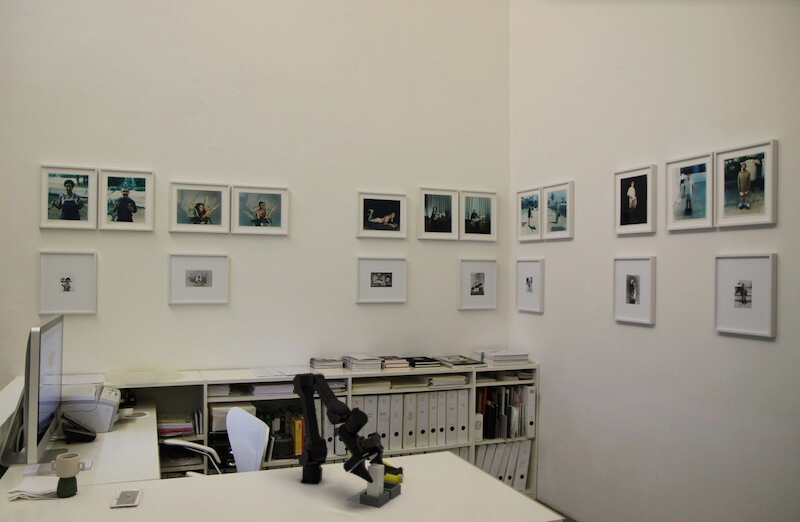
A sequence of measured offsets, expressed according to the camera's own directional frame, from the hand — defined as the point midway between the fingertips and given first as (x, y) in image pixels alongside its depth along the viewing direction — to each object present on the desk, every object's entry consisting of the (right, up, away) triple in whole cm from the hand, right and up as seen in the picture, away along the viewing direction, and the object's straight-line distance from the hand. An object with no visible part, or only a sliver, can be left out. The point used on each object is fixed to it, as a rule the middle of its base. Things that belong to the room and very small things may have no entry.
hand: (379, 478), depth 207 cm
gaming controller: (+3, -10, +25) cm, 27 cm away
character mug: (-103, -6, 0) cm, 103 cm away
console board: (-2, -9, +5) cm, 11 cm away
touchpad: (-82, -7, -2) cm, 82 cm away
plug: (-2, -8, 0) cm, 8 cm away
